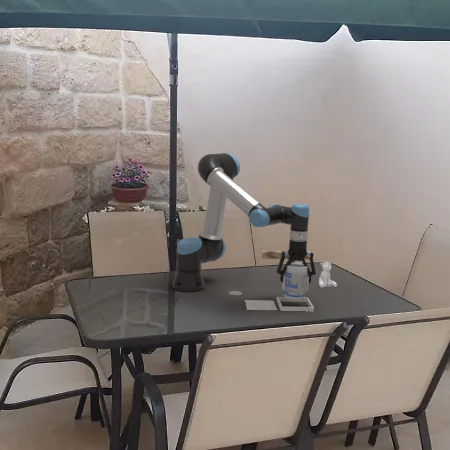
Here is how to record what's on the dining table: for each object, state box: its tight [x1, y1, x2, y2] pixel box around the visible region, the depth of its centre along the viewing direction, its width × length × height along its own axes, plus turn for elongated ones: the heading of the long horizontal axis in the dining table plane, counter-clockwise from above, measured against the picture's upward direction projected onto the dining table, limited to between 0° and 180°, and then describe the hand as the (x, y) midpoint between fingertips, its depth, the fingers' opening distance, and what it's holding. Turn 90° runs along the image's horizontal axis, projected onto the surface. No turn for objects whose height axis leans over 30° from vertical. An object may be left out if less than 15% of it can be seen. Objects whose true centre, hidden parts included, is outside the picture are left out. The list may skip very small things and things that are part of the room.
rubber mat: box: [244, 299, 278, 311], centre depth 264 cm, size 13×13×1 cm
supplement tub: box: [283, 262, 308, 300], centre depth 263 cm, size 10×10×15 cm
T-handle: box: [261, 250, 312, 263], centre depth 273 cm, size 22×3×8 cm, turn 94°
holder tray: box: [276, 296, 315, 313], centre depth 265 cm, size 14×14×2 cm
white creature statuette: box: [318, 261, 338, 289], centre depth 299 cm, size 10×9×12 cm
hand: (294, 289), depth 264 cm, fingers closed on supplement tub, 10 cm apart
